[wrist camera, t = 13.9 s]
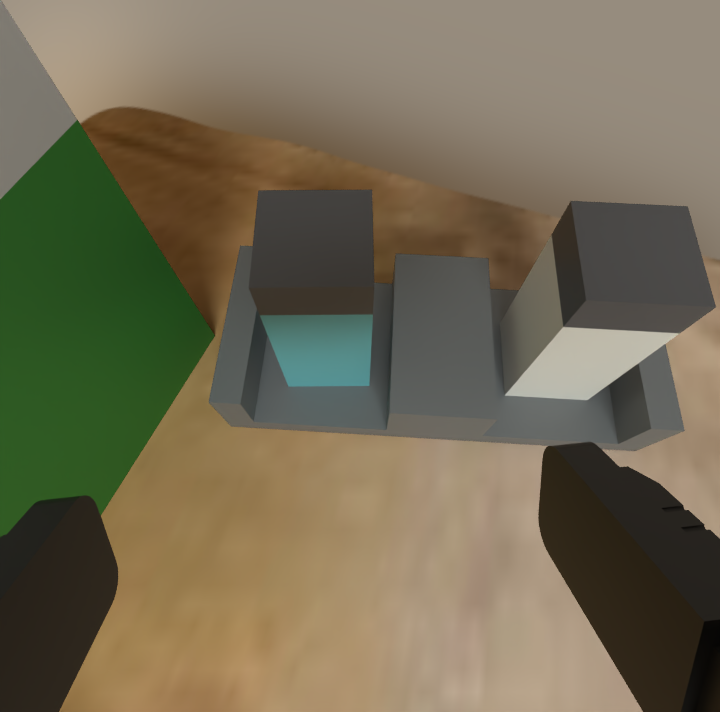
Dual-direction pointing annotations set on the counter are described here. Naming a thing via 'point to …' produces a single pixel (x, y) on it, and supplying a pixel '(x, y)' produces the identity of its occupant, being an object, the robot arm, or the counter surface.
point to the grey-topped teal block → (316, 283)
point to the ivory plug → (602, 298)
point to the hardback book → (76, 304)
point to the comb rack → (433, 372)
